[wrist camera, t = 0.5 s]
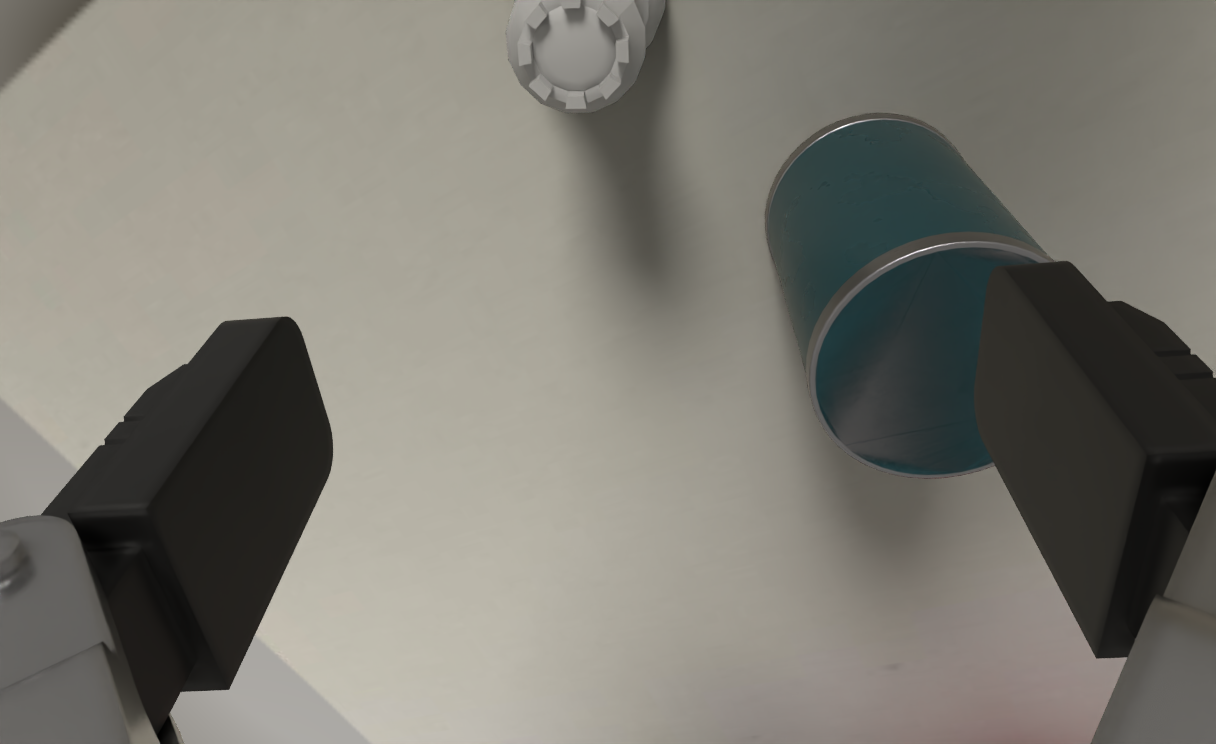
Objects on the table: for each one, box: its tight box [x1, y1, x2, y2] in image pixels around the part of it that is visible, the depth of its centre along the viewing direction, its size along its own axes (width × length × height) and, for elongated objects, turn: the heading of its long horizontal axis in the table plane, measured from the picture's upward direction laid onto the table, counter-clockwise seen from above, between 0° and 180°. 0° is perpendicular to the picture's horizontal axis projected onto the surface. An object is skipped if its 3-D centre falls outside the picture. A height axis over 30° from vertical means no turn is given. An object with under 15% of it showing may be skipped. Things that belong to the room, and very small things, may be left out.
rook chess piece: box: [506, 0, 665, 113], centre depth 24 cm, size 4×4×8 cm
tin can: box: [765, 113, 1055, 479], centre depth 27 cm, size 7×7×10 cm
